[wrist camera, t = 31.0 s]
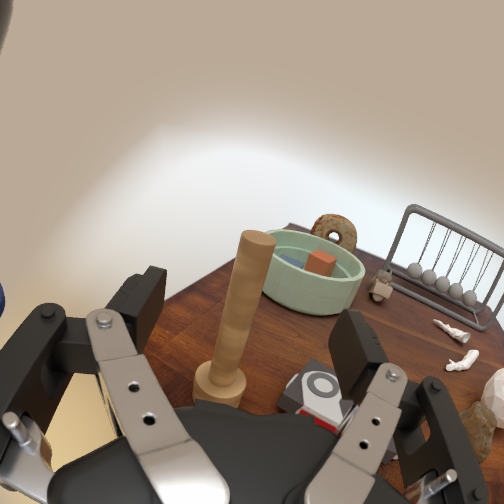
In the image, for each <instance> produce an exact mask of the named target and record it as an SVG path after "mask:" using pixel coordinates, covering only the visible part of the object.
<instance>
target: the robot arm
mask: <svg viewBox="0 0 504 504" xmlns="http://www.w3.org/2000/svg"><path fill="white" fill-rule="evenodd" d="M12 12H13V0H0V54H1V51H2V48H3V45H4V42H5V38H6V36H7V32H8V29H9V25H10V22H11V17H12ZM166 277H167V270H166V269H162V268H158V267H154V266H149V268H148V269H147V270H146V272H145V273H144V274H143V275H140V274H135V275H133V276H131V277H129V278H127V280H126V281H125V282H124V283H123V286H121V287H120V289H119V290H118V292H117V293H116V294H115V295H114V296H113V298H112V299H111V300H110V302H109V303H108V304H107V306H106V307H105V308H104V309H97V310H94V311H92V312H90V313H89V314H88V315H87V317H86V318H73V317H66V315H65V310H64V309H63V307H61V306H60V305H58V304H55V303H44V304H41V305H39V306H37V307H36V308H35V309H34V310H33V311H32V312H31V313H30V315H29V316H28V317H27V318H26V319H25V320H24V321H23V323H22V324H21V325H20V326H19V327H18V329H17V330H16V331H15V332H14V334H13V335H12V336H11V338H10V339H9V340H8V341H7V343H6V344H5V345H4V347H3V348H2V349H1V350H0V485H1V486H2V487H3V488H5V489H7V490H9V491H19V492H20V493H22V494H24V495H26V496H28V497H29V498H31V499H33V500H35V501H37V502H39V503H41V504H487V503H488V499H489V492H488V489H487V485H486V482H485V479H484V476H483V473H482V471H481V468H480V465H479V462H478V460H477V457H476V454H475V452H474V449H473V447H472V444H471V442H470V439H469V437H468V434H467V432H466V430H465V427H464V425H463V423H462V420H461V418H460V416H459V414H458V411H457V409H456V407H455V405H454V403H453V401H452V399H451V396H450V394H449V392H448V390H447V388H446V386H445V385H444V384H443V383H442V382H441V381H440V380H439V379H437V378H435V377H432V376H428V377H425V378H424V379H423V381H422V382H421V383H420V384H418V383H415V382H412V381H408V380H407V375H406V374H405V372H404V371H403V370H402V369H401V368H400V367H398V366H397V365H395V364H392V363H389V361H388V358H387V356H386V354H385V352H384V350H383V348H382V346H381V345H380V342H379V340H378V339H377V338H378V337H377V335H376V333H375V331H374V330H373V329H372V328H371V327H370V326H369V325H368V324H367V323H365V321H364V319H363V317H362V315H361V313H360V312H359V311H355V310H350V309H343V310H342V311H341V313H340V315H339V318H338V320H337V322H336V324H335V326H334V328H333V330H332V332H331V334H330V337H329V342H328V346H329V350H330V354H331V358H332V361H333V365H334V369H335V373H336V376H337V380H338V384H339V388H340V392H341V396H342V400H353V405H352V406H351V407H350V408H349V410H348V412H347V413H346V415H345V416H344V418H343V419H342V421H341V422H340V424H339V425H338V427H337V428H336V430H335V431H334V432H332V431H331V430H329V429H327V428H325V427H323V426H320V425H318V424H315V419H314V415H305V414H293V413H281V414H271V415H253V414H250V413H248V412H245V411H242V410H239V409H237V408H234V407H232V406H229V405H226V404H222V403H216V402H211V401H207V400H202V399H197V398H196V400H195V404H194V406H187V407H178V408H172V406H171V405H170V403H169V401H168V399H167V397H166V396H165V394H164V392H163V390H162V388H161V386H160V385H159V383H158V381H157V379H156V377H155V375H154V373H153V371H152V369H151V367H150V365H149V363H148V361H147V359H146V357H145V356H144V354H142V352H143V350H144V347H145V345H146V343H147V341H148V339H149V337H150V335H151V332H152V330H153V328H154V326H155V324H156V322H157V320H158V318H159V316H160V314H161V311H162V308H163V304H164V297H165V286H166ZM74 373H83V374H94V375H95V378H96V382H97V385H98V387H99V391H100V394H101V396H102V400H103V403H104V405H105V408H106V411H107V414H108V417H109V420H110V423H111V426H112V429H113V431H114V434H115V436H116V439H114V440H113V441H111V442H109V443H107V444H105V445H103V446H102V447H100V448H98V449H96V450H94V451H92V452H90V453H88V454H86V455H84V456H82V457H80V458H78V459H76V460H74V461H72V462H70V463H68V464H66V465H64V466H62V467H61V468H60V469H58V470H57V471H56V472H53V471H52V468H51V457H52V449H51V446H50V444H49V442H48V441H47V439H46V438H45V433H46V431H47V429H48V427H49V424H50V422H51V420H52V418H53V415H54V413H55V411H56V409H57V406H58V405H59V403H60V401H61V398H62V396H63V394H64V392H65V390H66V388H67V386H68V384H69V382H70V380H71V378H72V376H73V374H74ZM426 419H427V422H428V425H429V427H430V437H429V439H428V440H427V442H426V441H425V438H424V435H423V432H422V429H421V426H420V425H421V424H422V423H423V422H424V421H425V420H426ZM392 436H393V440H394V444H395V448H396V452H397V456H398V460H399V464H400V469H401V473H402V477H403V482H404V487H405V492H404V495H402V494H401V493H400V492H399V491H398V490H397V489H395V488H394V487H393V486H392V485H391V484H390V483H389V482H388V481H386V480H385V479H384V478H383V477H382V476H381V475H380V474H379V473H377V472H376V471H377V469H378V467H379V465H380V463H381V461H382V458H383V456H384V454H385V452H386V450H387V447H388V445H389V443H390V440H391V438H392Z"/></svg>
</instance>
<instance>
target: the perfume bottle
mask: <svg viewBox="0 0 504 504" xmlns="http://www.w3.org/2000/svg"><path fill="white" fill-rule="evenodd" d="M481 402H482V403H484V404H485V405H487V407H488V408H489V409H491V410H492V411H493V413H494V414H495V416H496V420H497V425H496V427H499V428H503V429H504V368H502V369H499V370H497V372H496V373H495V374H494V375H493V376H492V377H491V379H490V380H489V381H488V382H487V383H486V385H485V388H484V391H483V395H482V398H481Z"/></svg>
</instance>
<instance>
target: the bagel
mask: <svg viewBox="0 0 504 504" xmlns="http://www.w3.org/2000/svg"><path fill="white" fill-rule="evenodd" d="M332 232H336V233H337V234H338V235H339V240H338V241H337V242H335V244H337V245H338V246H340V247H342V248H344V249H346V250H347V251H349V252H350V253H351V254H353V252H354V250H355V248H356V243H357V232H356V229H355V227H354V225H353V224H352V223H351V222H350V221H349V220H348V219H346V218H345V217H343V216H340V215H335V214H326V215H322V216H321V217H319V218H318V220H317V221H316V222H315V224H314V226H313V227H312V229H311V232H310V234H311V235H314V236H317V237H320V238H323V239H325V240H328V241H330V240H329V234H330V233H332ZM330 242H331V241H330Z"/></svg>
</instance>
